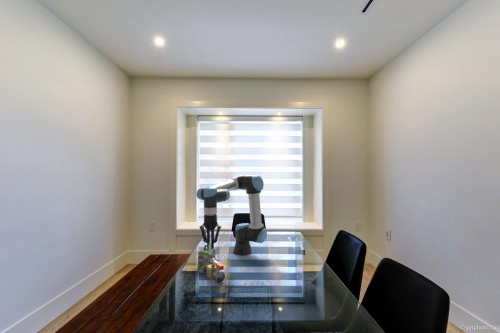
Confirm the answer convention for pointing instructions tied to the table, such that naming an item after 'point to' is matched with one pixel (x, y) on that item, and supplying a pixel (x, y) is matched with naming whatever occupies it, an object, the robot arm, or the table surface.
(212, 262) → the lever
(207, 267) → the valve
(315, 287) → the table surface
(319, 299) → the table surface
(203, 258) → the chalk box
